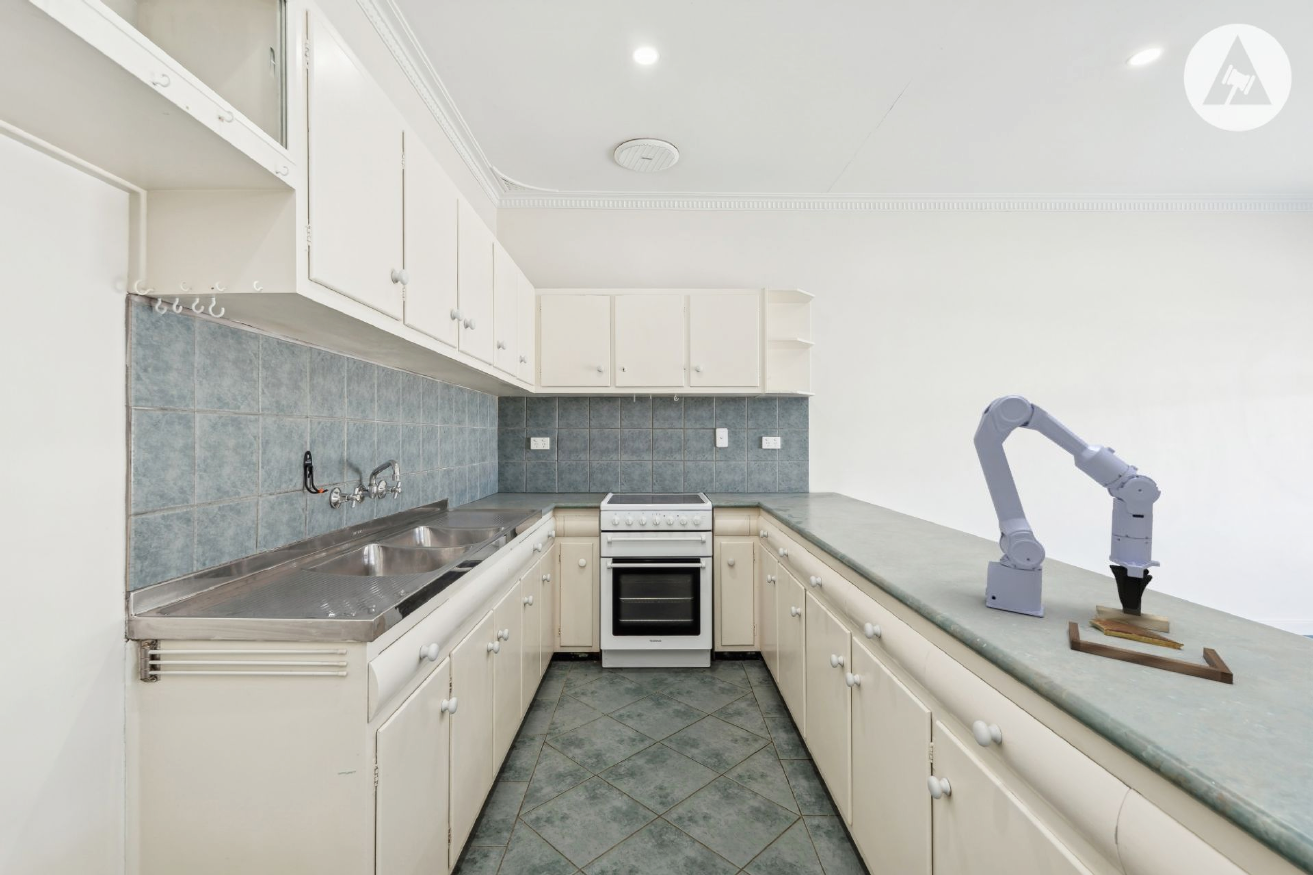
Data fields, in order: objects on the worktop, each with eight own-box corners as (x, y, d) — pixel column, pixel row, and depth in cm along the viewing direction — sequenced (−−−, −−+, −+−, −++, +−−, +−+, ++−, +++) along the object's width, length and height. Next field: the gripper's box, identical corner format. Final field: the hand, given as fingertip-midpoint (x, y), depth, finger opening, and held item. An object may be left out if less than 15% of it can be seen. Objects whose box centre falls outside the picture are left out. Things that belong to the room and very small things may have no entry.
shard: (1184, 653, 86) (1184, 642, 86) (1141, 654, 85) (1142, 643, 85) (1121, 627, 97) (1121, 618, 97) (1083, 628, 96) (1084, 618, 96)
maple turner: (1097, 619, 99) (1098, 584, 99) (1096, 615, 102) (1097, 580, 102) (1169, 632, 93) (1170, 595, 93) (1166, 627, 96) (1167, 590, 96)
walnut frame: (1070, 649, 86) (1071, 640, 86) (1068, 629, 94) (1069, 621, 94) (1232, 684, 74) (1233, 674, 74) (1213, 658, 83) (1214, 649, 83)
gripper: (1167, 545, 89) (1165, 622, 89) (1153, 532, 101) (1151, 600, 101) (1114, 539, 93) (1111, 613, 94) (1106, 528, 105) (1104, 593, 105)
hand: (1128, 606), depth 98 cm, fingers closed on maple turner, 2 cm apart
